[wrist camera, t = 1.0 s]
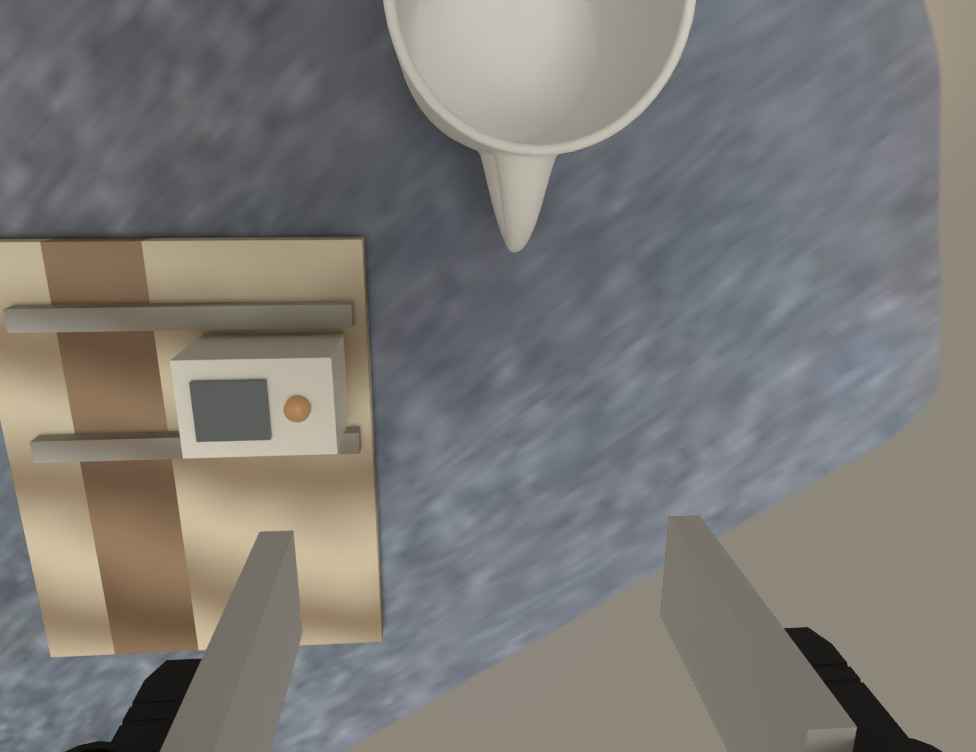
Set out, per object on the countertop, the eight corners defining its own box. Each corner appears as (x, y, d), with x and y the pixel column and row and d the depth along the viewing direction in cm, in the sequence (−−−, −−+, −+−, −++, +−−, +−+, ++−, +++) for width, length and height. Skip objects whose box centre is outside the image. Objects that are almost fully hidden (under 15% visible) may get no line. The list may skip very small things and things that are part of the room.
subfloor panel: (-20, 239, 30) (-51, 244, 28) (364, 236, 31) (360, 241, 29) (63, 641, 36) (42, 668, 34) (383, 626, 37) (381, 652, 35)
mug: (399, 232, 31) (384, 270, 21) (398, -80, 28) (379, -216, 18) (592, 237, 32) (667, 277, 22) (615, -67, 29) (717, -189, 18)
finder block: (202, 335, 31) (166, 362, 27) (343, 332, 31) (330, 359, 27) (212, 422, 32) (180, 461, 28) (348, 418, 32) (336, 457, 28)
